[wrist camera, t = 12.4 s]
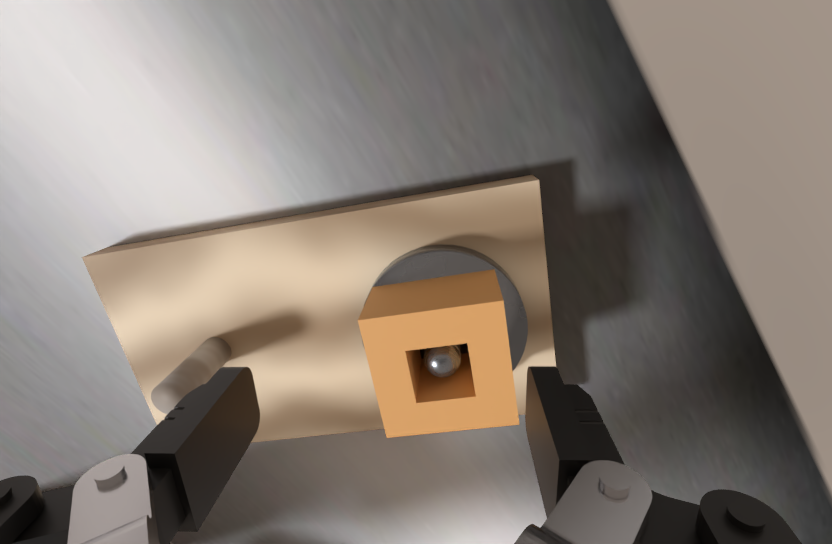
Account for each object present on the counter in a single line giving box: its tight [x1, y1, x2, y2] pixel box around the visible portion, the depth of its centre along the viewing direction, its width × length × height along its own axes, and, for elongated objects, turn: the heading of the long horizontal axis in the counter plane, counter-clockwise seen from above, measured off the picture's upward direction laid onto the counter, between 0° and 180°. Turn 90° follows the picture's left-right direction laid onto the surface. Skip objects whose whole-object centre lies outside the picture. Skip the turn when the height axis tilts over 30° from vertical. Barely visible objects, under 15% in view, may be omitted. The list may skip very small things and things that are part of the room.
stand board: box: [82, 175, 556, 443], centre depth 25 cm, size 14×26×7 cm, turn 100°
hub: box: [361, 244, 528, 377], centre depth 23 cm, size 9×9×5 cm
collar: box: [358, 269, 519, 438], centre depth 22 cm, size 6×6×4 cm
